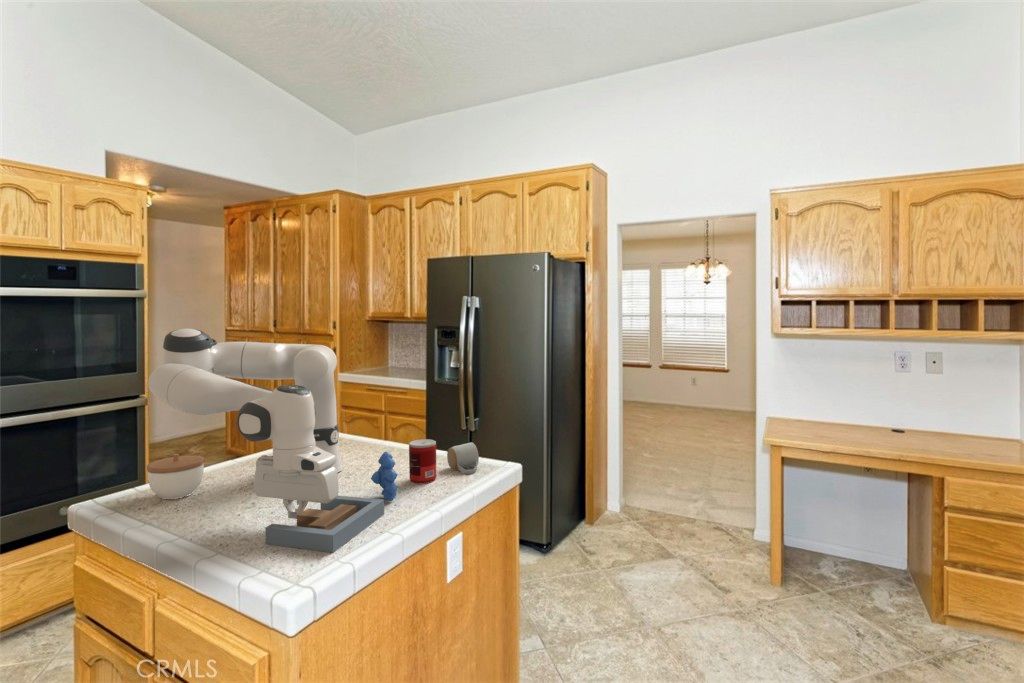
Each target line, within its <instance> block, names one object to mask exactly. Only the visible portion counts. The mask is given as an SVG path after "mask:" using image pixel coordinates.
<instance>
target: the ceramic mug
mask: <svg viewBox="0 0 1024 683" xmlns="http://www.w3.org/2000/svg"><path fill="white" fill-rule="evenodd" d="M446 455H447V456H446V458H447V463H448V465H449V468H450V469H451V470H453V471H458V470H459V471H460V472H461V473H462V474H466V475H470V474H471V473H472V474H474V473H476V471H477V470H478V464H479V458H480V457H479V452H478V447H477V446H476V444H475V443H474V442H468V443H462V444H459V445H454V446H452V447H450V448H448V449H447V454H446ZM472 474H471V475H472Z"/></svg>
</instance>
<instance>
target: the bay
mask: <svg viewBox="0 0 1024 683" xmlns="http://www.w3.org/2000/svg"><path fill="white" fill-rule="evenodd" d="M341 504H344V505H354V506H357V513H355V514H354V515H352V516H351V517H349V518H348V519H346V520H345V521H343V522H342V523H340V524H339V525H337V526H336V527H334V528H333V529H331V530H325V529H316V528H307V527H298V526H297V525H287V524H280V523H279V524H278V523H271V524H270V525H268V526H265V528H264V529H265V531H264V532H265V545H268V546H269V545H271V546H276V547H278V546H280V547H286V548H295V549H302V550H308V551H309V550H310V551H318V552H319V551H320V552H326V553H333V554H334V553H335V552H336V551H337V549H338V550H339V549H340V548H342V547H343V546H344V545H345V543H346V544H347V543H348V542H350V541H351V540H352V539H353V538H355V537H357V535H358V534H360V533H362V532H363V531H364V530H366V529H367V528H368V527H370V525H372V524H373V523H375V522H376V521H378V520H379V519H380V518H382V517H383V516H384V515H385V499H378V498H370V497H360V496H359V497H358V496H348V495H347V496H345V495H338V496H337V497H336V499H334V500H333V501H331V502H329V503H320V510H329V511H331V510H333V509H335V508H336V507H338V506H339V505H341ZM341 546H342V547H341Z"/></svg>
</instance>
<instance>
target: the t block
mask: <svg viewBox="0 0 1024 683" xmlns="http://www.w3.org/2000/svg"><path fill="white" fill-rule="evenodd" d="M355 513H357V506H354V505H344V504H341V505H339V506H338V507H336V508H335V509H333V510H331V511H329V510H321V509H319V508H318V509H316V508H305V509H304V511H303V512H301V513H299V514H298V515H297V519H296V526H298V527H307V528H316V529H325V530H331V529H333V528H334V527H336V526H337V525H339V524H340V523H342V522H343V521H345V520H346V519H348V518H349V517H351V516H352V515H354V514H355Z"/></svg>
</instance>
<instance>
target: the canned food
mask: <svg viewBox="0 0 1024 683" xmlns="http://www.w3.org/2000/svg"><path fill="white" fill-rule="evenodd" d="M408 460H409V462H408V464H409V466H408V468H409V471H408V472H409V473H408V474H409V481H410V482H411V483H413V484H417V483H418V484H419V483H424V484H429V483H432V482H434V481H436V479H437V441H436V440H434V439H429V438H428V439H427V438H424V439H422V438H421V439H415V440H412V441H410V442H409V443H408ZM428 482H429V483H428ZM419 485H420V484H419Z"/></svg>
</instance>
